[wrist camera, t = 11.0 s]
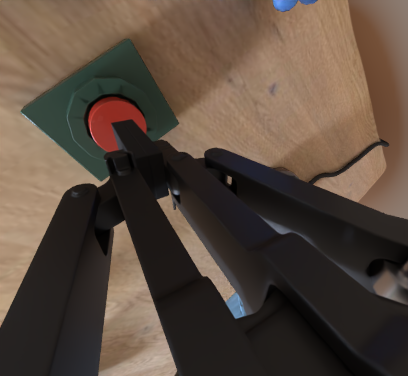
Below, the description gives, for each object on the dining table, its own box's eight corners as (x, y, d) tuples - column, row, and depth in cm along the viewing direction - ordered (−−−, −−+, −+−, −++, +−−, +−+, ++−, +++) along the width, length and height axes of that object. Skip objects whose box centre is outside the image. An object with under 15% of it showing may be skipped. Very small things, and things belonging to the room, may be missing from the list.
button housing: (124, 38, 19) (135, 37, 17) (173, 119, 26) (186, 128, 23) (23, 107, 18) (14, 118, 15) (99, 174, 24) (103, 191, 22)
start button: (119, 85, 18) (124, 88, 17) (150, 128, 21) (156, 134, 20) (75, 116, 18) (75, 122, 16) (113, 155, 21) (116, 163, 19)
